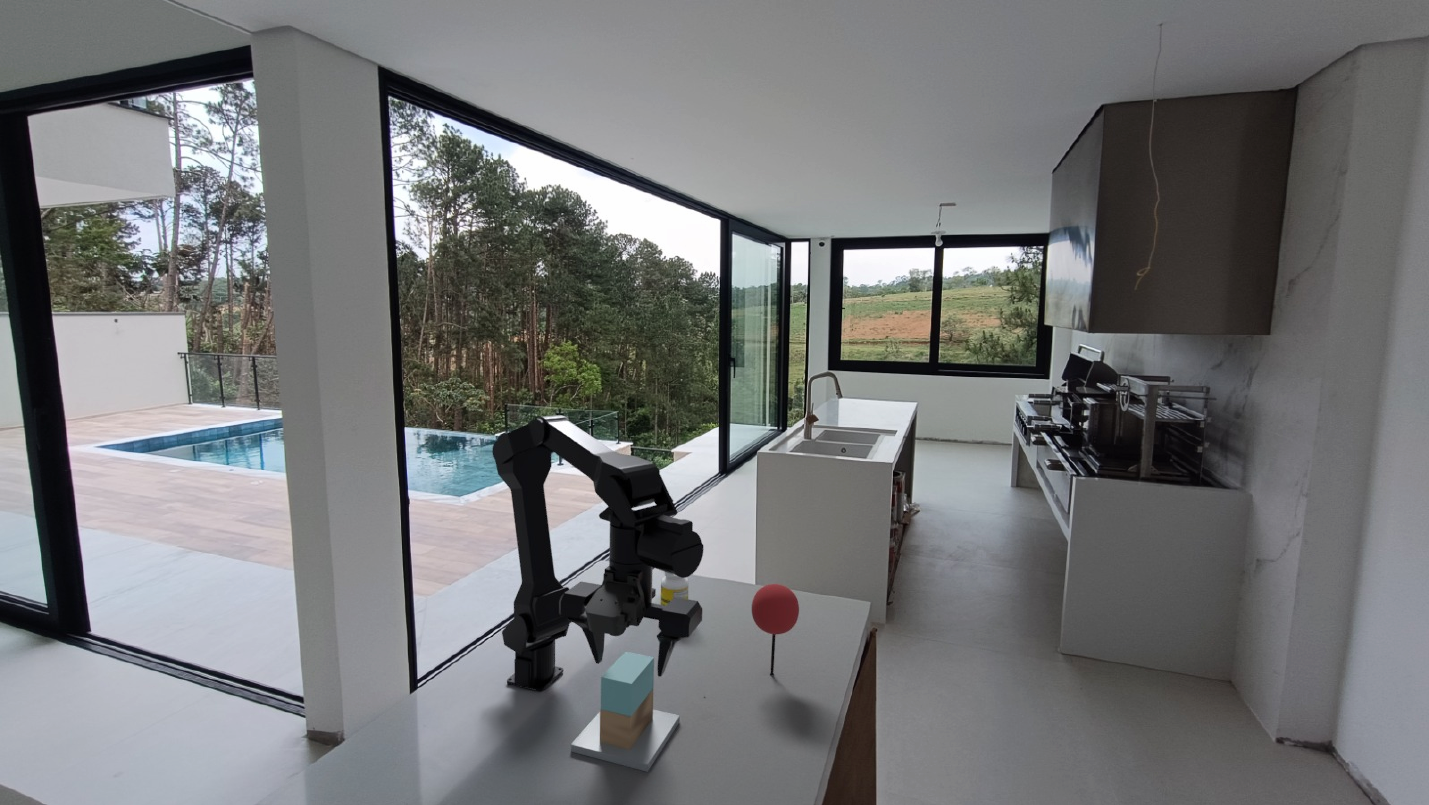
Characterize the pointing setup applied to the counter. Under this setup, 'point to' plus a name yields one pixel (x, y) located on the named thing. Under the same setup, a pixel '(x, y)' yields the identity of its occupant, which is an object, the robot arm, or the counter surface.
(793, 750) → the counter surface
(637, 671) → the teal brick
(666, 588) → the supplement bottle
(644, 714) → the walnut brick
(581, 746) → the base plate
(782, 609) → the lollipop
